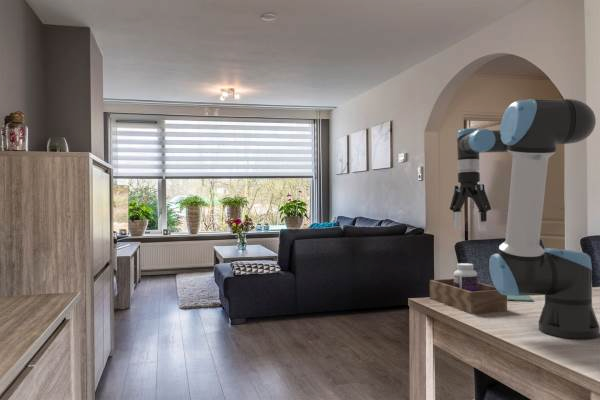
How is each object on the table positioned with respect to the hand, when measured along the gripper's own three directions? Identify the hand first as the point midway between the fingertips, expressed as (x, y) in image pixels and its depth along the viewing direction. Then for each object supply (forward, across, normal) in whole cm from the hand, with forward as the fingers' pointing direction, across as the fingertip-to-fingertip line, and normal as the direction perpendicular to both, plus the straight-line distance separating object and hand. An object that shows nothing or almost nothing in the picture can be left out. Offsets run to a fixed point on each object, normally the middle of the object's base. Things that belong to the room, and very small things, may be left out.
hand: (469, 230), depth 175 cm
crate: (+26, -1, +3) cm, 27 cm away
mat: (+26, +4, -20) cm, 33 cm away
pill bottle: (+27, -1, +3) cm, 27 cm away
